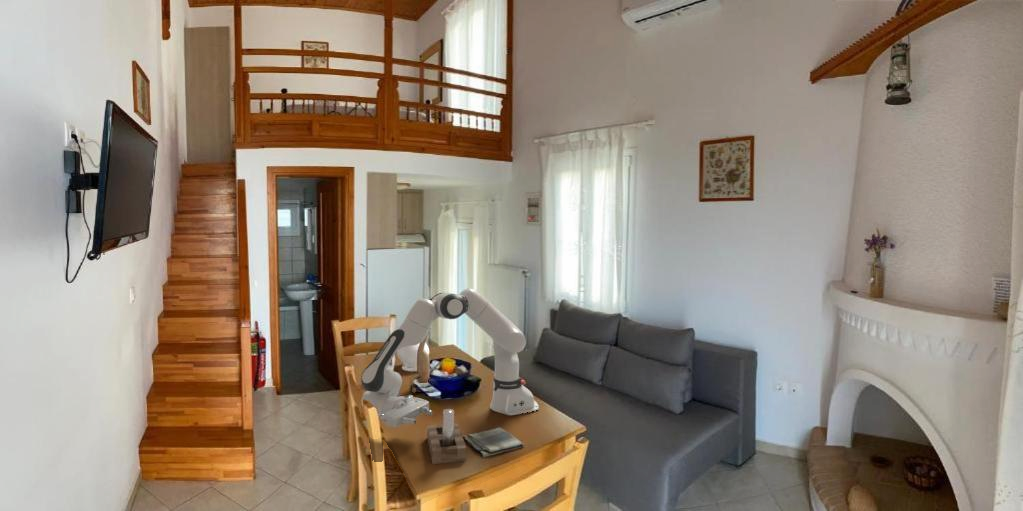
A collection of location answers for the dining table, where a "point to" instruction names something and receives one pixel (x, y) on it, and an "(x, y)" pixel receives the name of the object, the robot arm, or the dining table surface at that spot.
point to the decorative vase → (410, 356)
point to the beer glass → (391, 364)
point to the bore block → (445, 453)
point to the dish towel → (493, 442)
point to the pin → (448, 427)
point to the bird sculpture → (422, 364)
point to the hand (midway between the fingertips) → (422, 417)
